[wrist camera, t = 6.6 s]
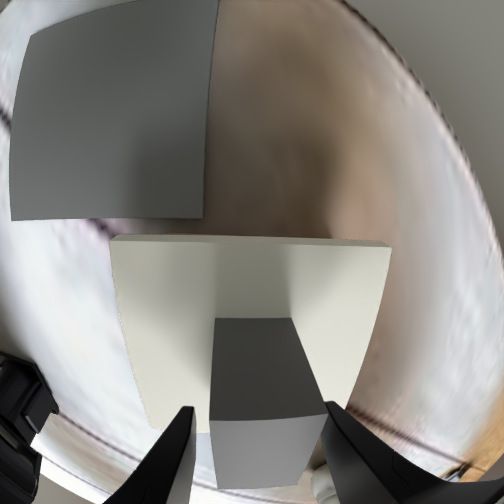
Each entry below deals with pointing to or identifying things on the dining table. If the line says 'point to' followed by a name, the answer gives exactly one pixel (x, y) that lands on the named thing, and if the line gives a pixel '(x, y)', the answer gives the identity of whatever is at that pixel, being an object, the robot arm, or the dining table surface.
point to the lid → (248, 339)
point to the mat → (114, 114)
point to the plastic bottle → (323, 486)
